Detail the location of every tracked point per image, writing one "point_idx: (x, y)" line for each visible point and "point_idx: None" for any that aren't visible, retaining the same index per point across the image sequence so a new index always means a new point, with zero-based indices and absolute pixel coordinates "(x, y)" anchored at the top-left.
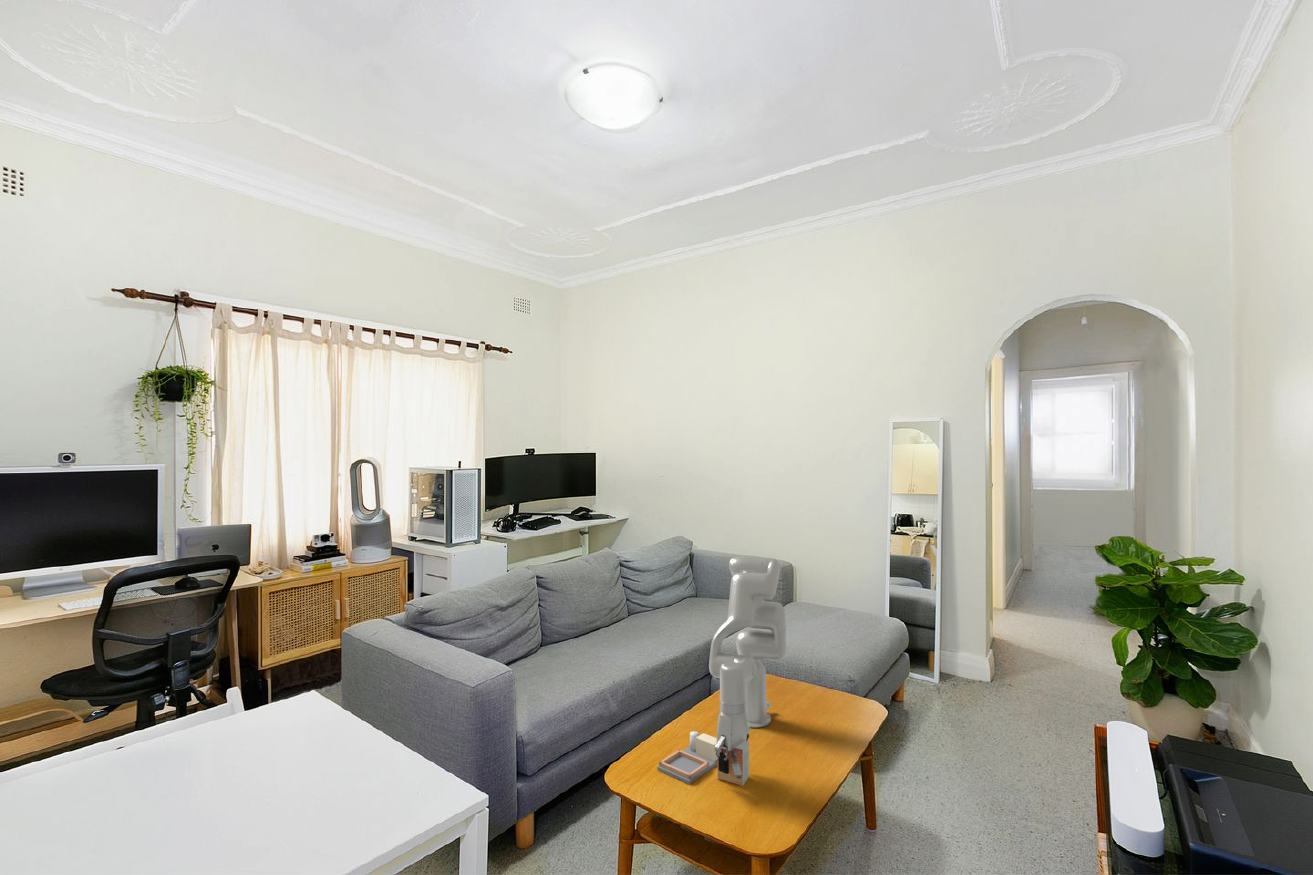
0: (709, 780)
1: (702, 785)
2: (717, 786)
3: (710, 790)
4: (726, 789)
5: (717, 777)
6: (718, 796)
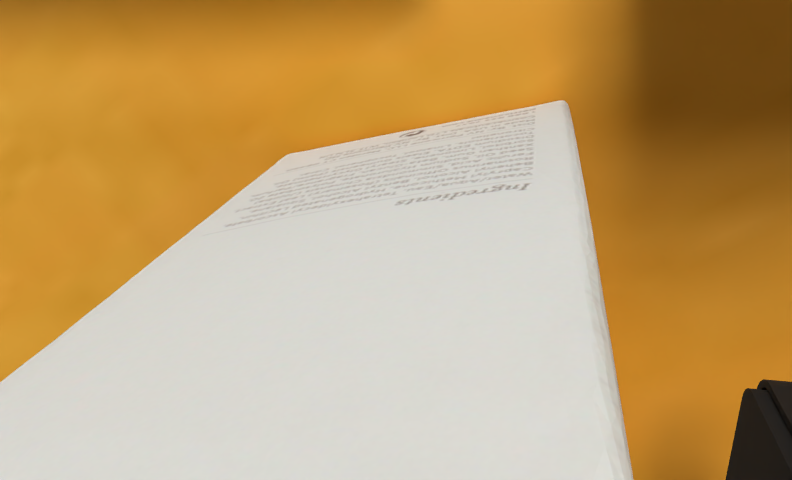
0: (187, 76)
1: (36, 71)
2: (165, 240)
3: (44, 216)
4: None
5: (282, 158)
6: (39, 343)
